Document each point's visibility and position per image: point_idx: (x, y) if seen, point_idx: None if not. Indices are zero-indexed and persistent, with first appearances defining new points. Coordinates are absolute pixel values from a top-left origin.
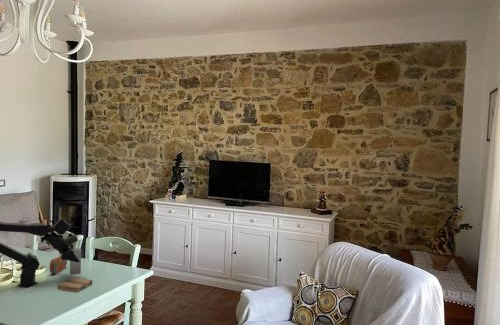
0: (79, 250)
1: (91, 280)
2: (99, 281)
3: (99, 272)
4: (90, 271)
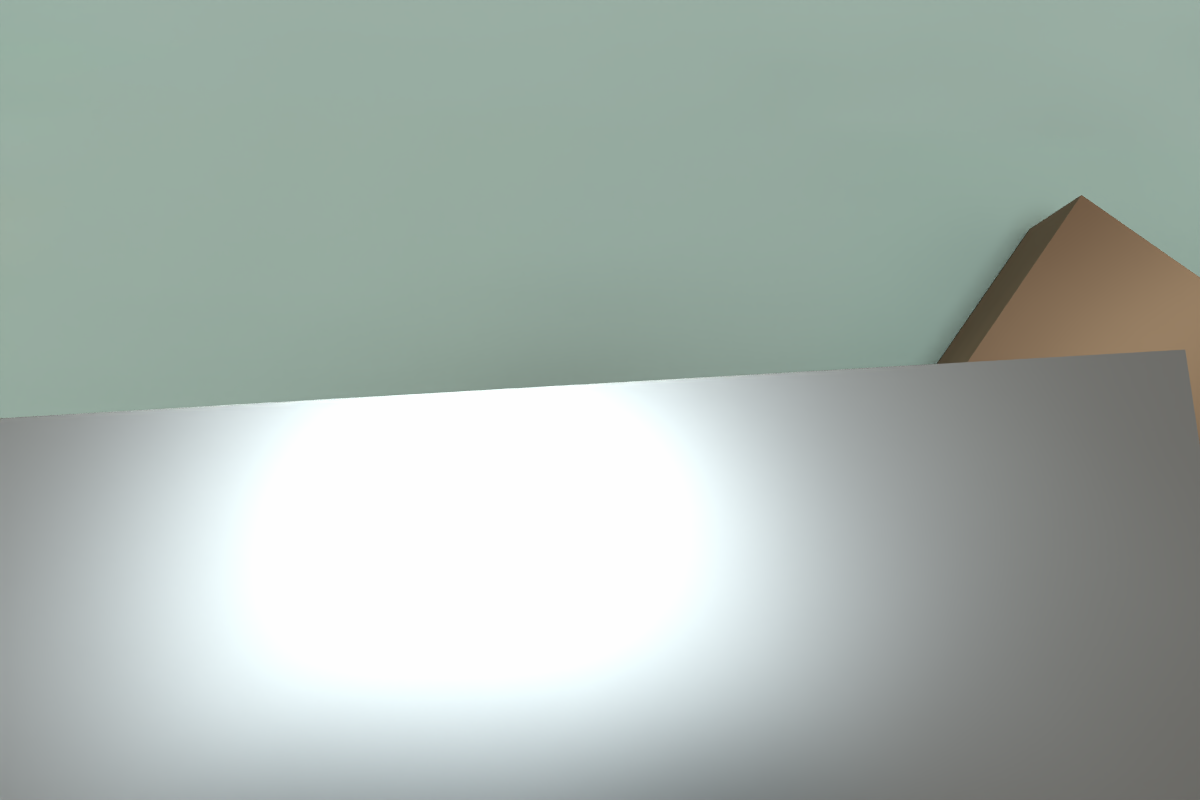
0: (1023, 643)
1: (1107, 218)
2: (886, 59)
3: (180, 16)
4: (10, 236)
